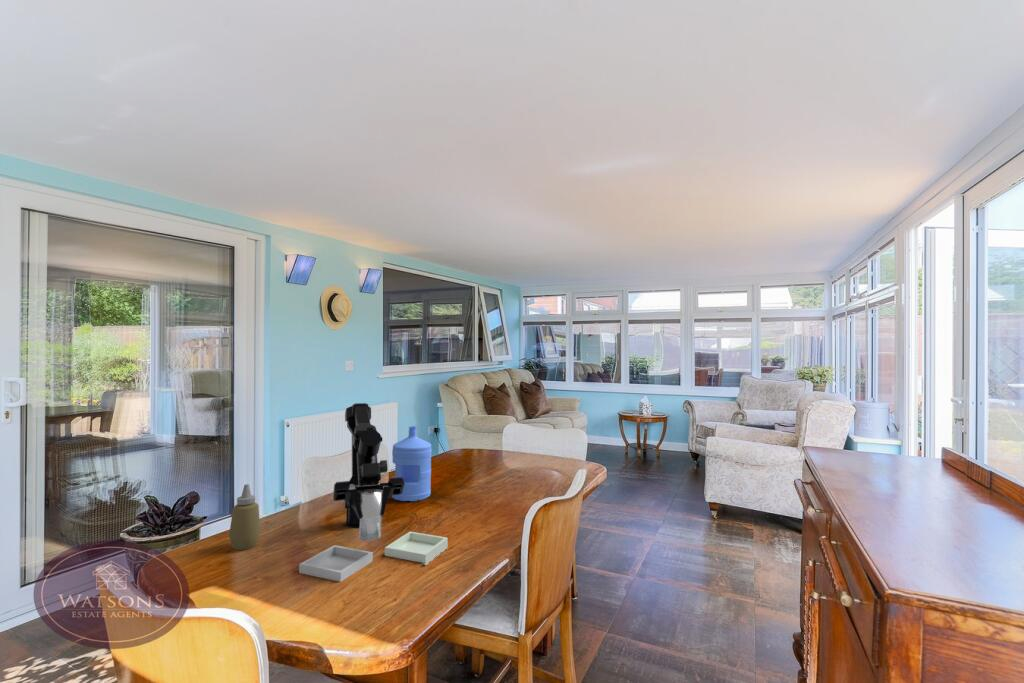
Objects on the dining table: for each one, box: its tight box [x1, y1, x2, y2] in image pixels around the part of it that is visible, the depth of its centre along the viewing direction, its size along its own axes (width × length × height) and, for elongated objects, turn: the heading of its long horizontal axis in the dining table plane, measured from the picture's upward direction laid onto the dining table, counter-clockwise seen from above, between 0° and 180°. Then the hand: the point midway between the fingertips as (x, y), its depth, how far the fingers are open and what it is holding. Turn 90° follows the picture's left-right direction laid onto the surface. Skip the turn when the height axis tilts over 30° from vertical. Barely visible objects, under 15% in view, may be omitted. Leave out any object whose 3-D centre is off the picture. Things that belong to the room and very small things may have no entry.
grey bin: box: [298, 544, 374, 582], centre depth 124 cm, size 13×13×3 cm
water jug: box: [391, 425, 433, 502], centre depth 191 cm, size 16×16×28 cm
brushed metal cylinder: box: [358, 489, 383, 542], centre depth 127 cm, size 6×6×12 cm
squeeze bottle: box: [228, 483, 261, 551], centre depth 138 cm, size 8×8×18 cm
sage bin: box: [384, 531, 449, 566], centre depth 136 cm, size 13×13×3 cm
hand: (371, 516), depth 126 cm, fingers closed on brushed metal cylinder, 6 cm apart
